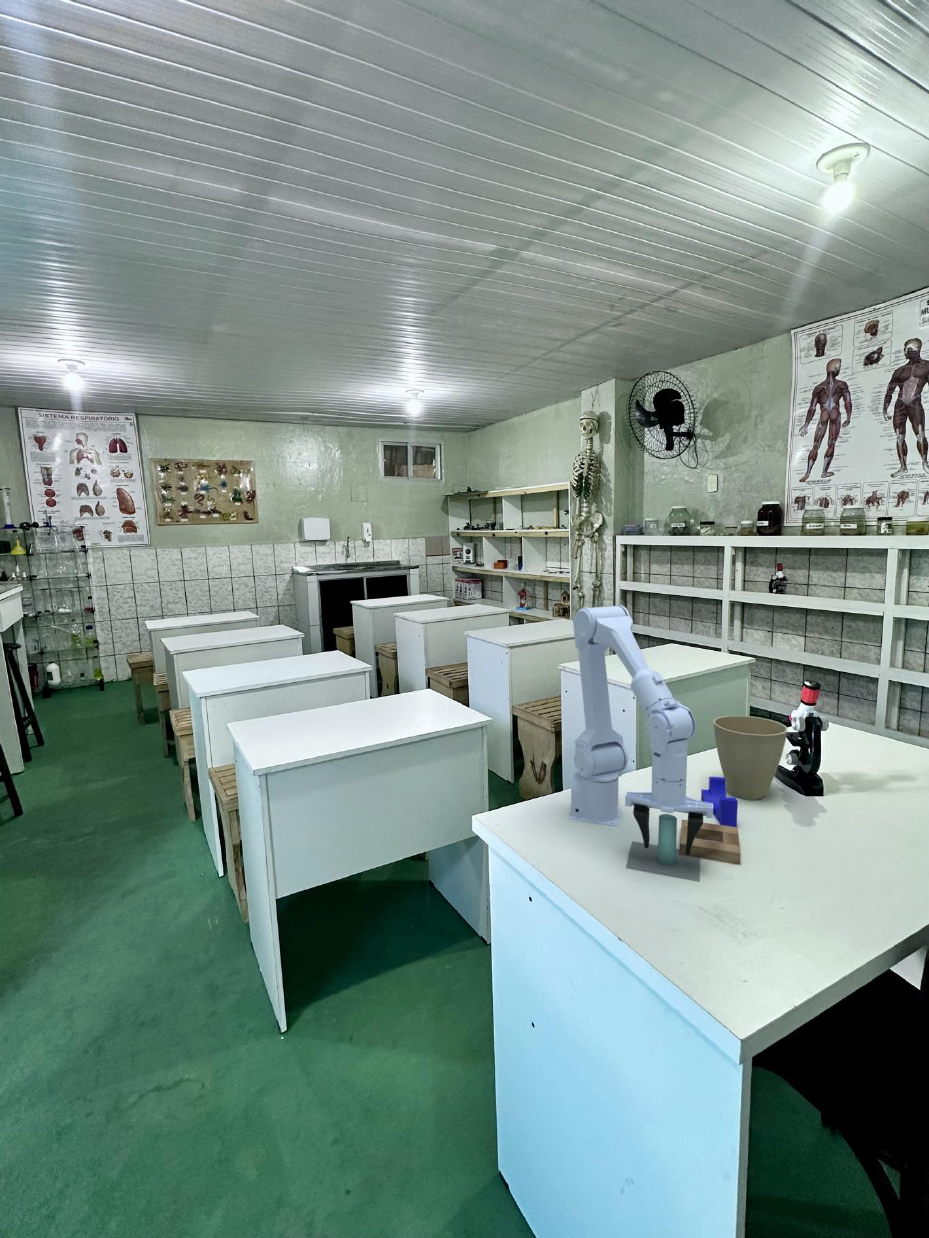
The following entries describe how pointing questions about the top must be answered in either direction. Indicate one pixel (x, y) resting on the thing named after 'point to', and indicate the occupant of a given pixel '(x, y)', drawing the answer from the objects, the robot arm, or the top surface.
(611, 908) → the top surface
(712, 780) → the cable clip
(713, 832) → the socket block
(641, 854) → the mat
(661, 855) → the peg
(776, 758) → the plant pot
